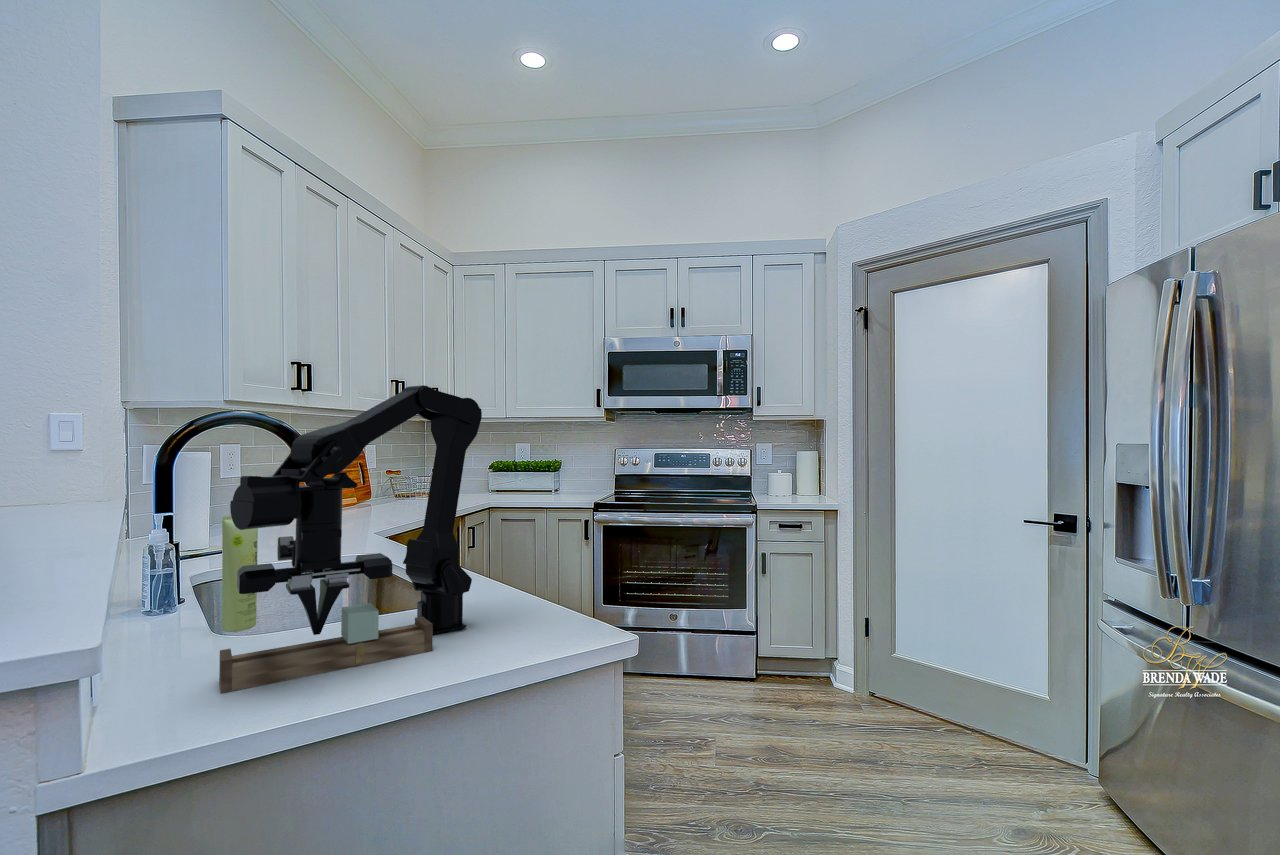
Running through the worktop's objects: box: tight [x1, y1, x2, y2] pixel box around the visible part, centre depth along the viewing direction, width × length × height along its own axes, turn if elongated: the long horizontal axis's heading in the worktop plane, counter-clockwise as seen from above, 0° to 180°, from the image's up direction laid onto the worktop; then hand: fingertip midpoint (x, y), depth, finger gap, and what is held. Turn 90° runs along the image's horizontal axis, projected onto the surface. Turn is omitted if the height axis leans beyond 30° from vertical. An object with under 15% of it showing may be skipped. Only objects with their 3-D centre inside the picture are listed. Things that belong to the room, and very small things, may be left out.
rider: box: [340, 602, 380, 644], centre depth 88 cm, size 4×5×6 cm
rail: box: [218, 616, 434, 694], centre depth 86 cm, size 26×5×4 cm, turn 126°
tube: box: [221, 515, 259, 633], centre depth 102 cm, size 6×5×20 cm
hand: (316, 633), depth 84 cm, fingers closed
